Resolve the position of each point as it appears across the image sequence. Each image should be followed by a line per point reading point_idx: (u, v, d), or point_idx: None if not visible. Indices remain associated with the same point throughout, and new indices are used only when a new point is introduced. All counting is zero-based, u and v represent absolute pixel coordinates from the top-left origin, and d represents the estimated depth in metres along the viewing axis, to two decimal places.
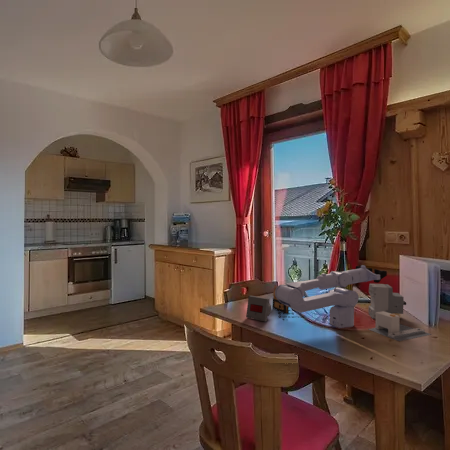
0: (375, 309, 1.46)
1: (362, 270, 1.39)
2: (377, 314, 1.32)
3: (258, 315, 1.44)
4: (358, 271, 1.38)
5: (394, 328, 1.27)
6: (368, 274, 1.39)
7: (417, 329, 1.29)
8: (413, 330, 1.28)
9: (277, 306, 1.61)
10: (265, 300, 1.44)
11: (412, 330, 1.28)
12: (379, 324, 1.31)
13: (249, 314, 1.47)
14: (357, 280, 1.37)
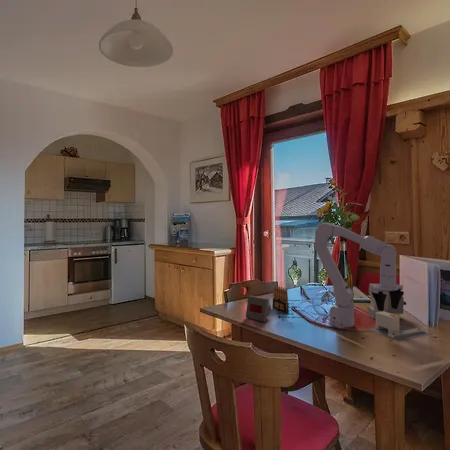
0: (375, 309, 1.46)
1: (390, 283, 1.28)
2: (377, 314, 1.32)
3: (257, 315, 1.44)
4: (389, 277, 1.28)
5: (394, 328, 1.27)
6: (383, 287, 1.29)
7: (417, 329, 1.29)
8: (413, 330, 1.28)
9: (277, 306, 1.61)
10: (264, 300, 1.44)
11: (412, 330, 1.28)
12: (379, 324, 1.31)
13: (249, 314, 1.47)
14: (384, 272, 1.29)
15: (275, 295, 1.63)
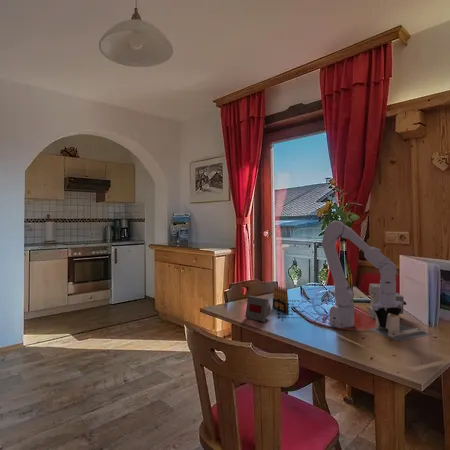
0: None
1: (389, 300, 1.28)
2: None
3: (257, 315, 1.44)
4: (389, 294, 1.28)
5: (394, 328, 1.27)
6: (383, 304, 1.29)
7: (417, 329, 1.29)
8: (413, 330, 1.28)
9: (277, 306, 1.61)
10: (264, 300, 1.43)
11: (412, 330, 1.28)
12: (379, 324, 1.31)
13: (248, 314, 1.47)
14: (384, 289, 1.29)
15: (275, 295, 1.63)
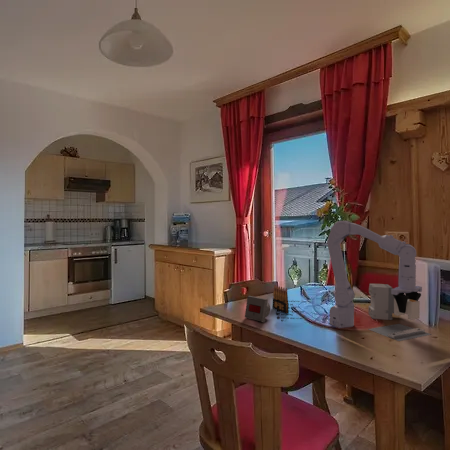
0: (375, 309, 1.46)
1: (409, 284, 1.23)
2: None
3: (256, 315, 1.44)
4: (409, 278, 1.23)
5: (414, 314, 1.23)
6: (403, 288, 1.24)
7: (417, 329, 1.29)
8: (413, 330, 1.28)
9: None
10: (263, 300, 1.43)
11: (412, 330, 1.28)
12: (398, 311, 1.27)
13: (248, 314, 1.47)
14: (403, 273, 1.24)
15: (275, 295, 1.63)
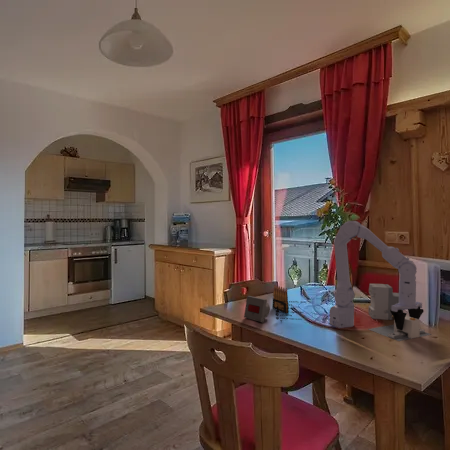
0: (375, 309, 1.46)
1: (410, 301, 1.23)
2: None
3: (255, 315, 1.44)
4: (409, 294, 1.23)
5: (414, 332, 1.23)
6: (403, 305, 1.24)
7: None
8: None
9: None
10: (262, 301, 1.43)
11: None
12: None
13: (247, 314, 1.46)
14: (403, 289, 1.24)
15: (275, 295, 1.63)
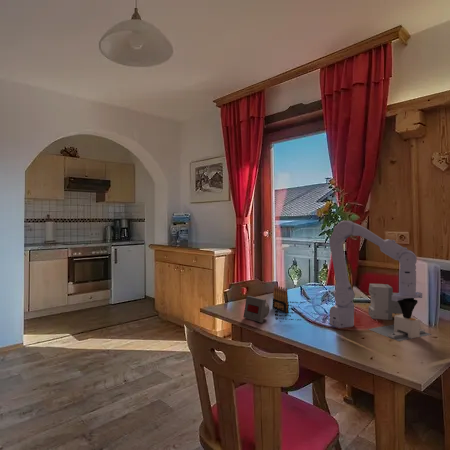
0: (375, 309, 1.46)
1: (410, 290, 1.23)
2: (396, 317, 1.28)
3: (254, 316, 1.43)
4: (409, 284, 1.23)
5: (414, 332, 1.23)
6: (403, 295, 1.24)
7: None
8: None
9: (277, 306, 1.61)
10: (261, 301, 1.42)
11: None
12: (398, 328, 1.27)
13: (246, 314, 1.46)
14: (403, 279, 1.24)
15: (275, 295, 1.63)
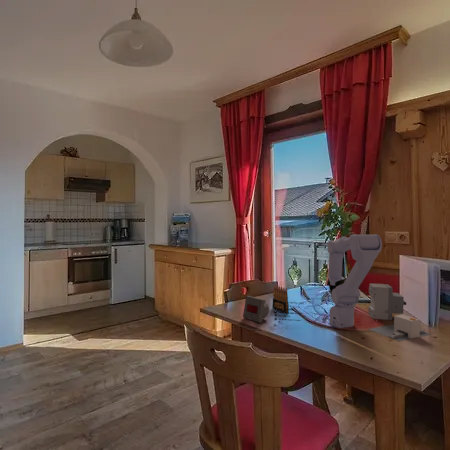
0: (375, 309, 1.46)
1: (340, 274, 1.45)
2: (396, 317, 1.28)
3: (253, 316, 1.43)
4: (340, 269, 1.45)
5: (414, 332, 1.23)
6: (335, 278, 1.45)
7: None
8: None
9: (277, 306, 1.61)
10: (260, 301, 1.42)
11: None
12: (398, 328, 1.27)
13: (246, 314, 1.46)
14: None
15: (275, 295, 1.63)
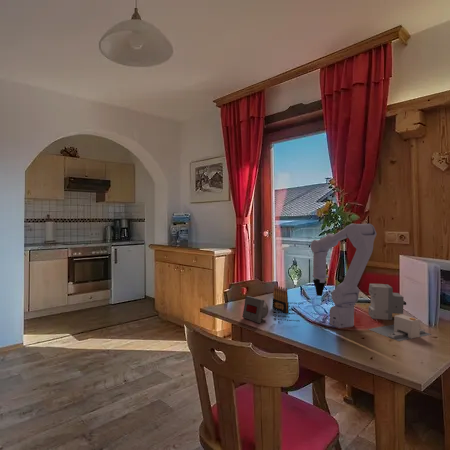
0: (375, 309, 1.46)
1: (325, 272, 1.51)
2: (396, 317, 1.28)
3: (252, 316, 1.43)
4: (325, 267, 1.50)
5: (414, 332, 1.23)
6: (322, 276, 1.49)
7: None
8: None
9: (277, 306, 1.61)
10: (259, 301, 1.42)
11: None
12: (398, 328, 1.27)
13: (245, 314, 1.46)
14: None
15: (275, 295, 1.63)
